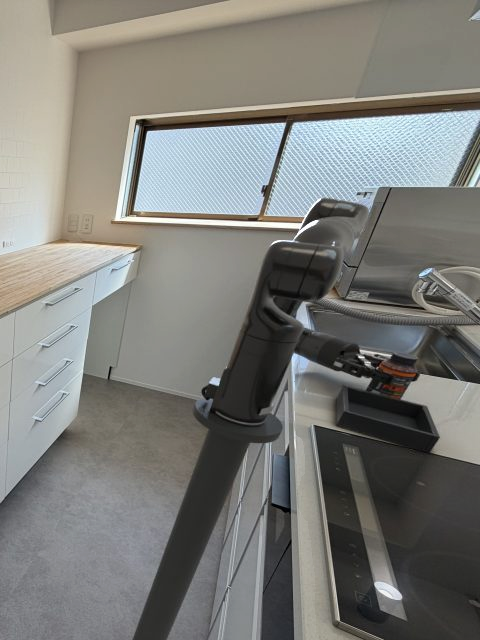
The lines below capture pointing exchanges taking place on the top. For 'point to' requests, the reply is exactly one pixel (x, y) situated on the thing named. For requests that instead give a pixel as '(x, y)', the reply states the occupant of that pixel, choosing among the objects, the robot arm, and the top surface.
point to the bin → (386, 418)
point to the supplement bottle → (401, 369)
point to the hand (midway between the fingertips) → (405, 379)
